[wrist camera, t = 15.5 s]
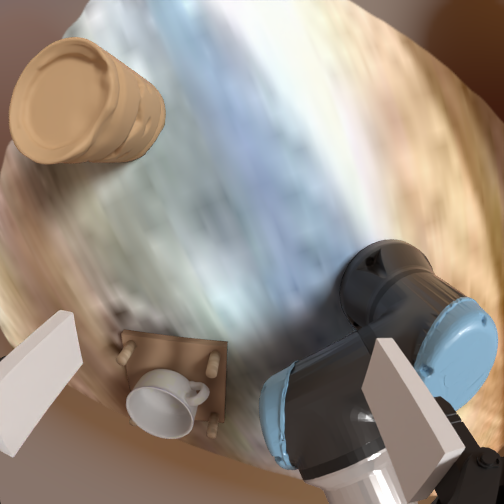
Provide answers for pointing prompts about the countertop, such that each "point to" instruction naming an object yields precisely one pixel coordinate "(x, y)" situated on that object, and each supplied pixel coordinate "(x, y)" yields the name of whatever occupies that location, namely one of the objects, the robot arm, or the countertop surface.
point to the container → (83, 107)
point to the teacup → (165, 403)
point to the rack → (180, 367)
